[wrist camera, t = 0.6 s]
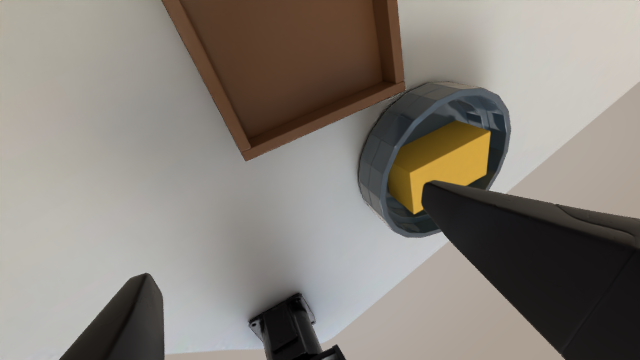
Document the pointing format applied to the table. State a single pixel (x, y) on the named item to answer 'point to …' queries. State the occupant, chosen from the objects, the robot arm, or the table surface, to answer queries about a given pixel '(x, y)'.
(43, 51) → the table surface
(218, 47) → the tray
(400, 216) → the bowl
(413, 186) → the block
